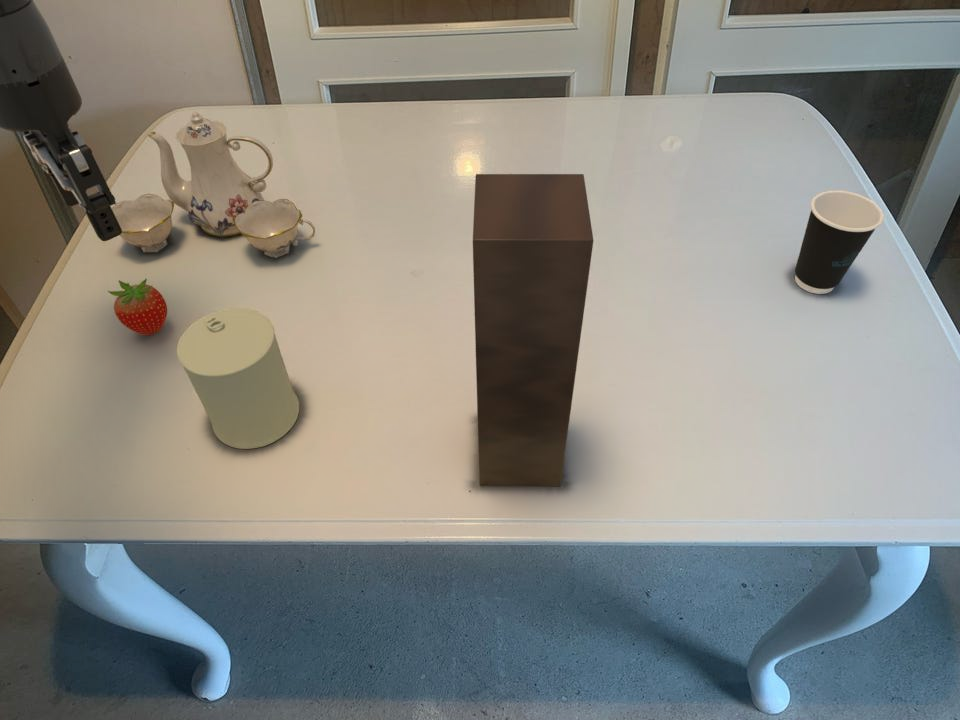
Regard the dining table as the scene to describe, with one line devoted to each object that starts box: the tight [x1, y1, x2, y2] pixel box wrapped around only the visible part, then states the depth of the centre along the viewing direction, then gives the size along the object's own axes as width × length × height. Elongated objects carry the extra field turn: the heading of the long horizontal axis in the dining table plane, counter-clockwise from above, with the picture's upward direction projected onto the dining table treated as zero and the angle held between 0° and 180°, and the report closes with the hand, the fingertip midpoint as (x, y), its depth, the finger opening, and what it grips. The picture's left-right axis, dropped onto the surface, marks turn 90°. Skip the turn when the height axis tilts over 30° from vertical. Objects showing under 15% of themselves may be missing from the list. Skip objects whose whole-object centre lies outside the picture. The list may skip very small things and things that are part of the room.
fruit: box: [107, 278, 168, 336], centre depth 79 cm, size 5×5×8 cm
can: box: [176, 307, 300, 450], centre depth 69 cm, size 9×9×12 cm
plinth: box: [472, 173, 594, 487], centre depth 59 cm, size 8×8×30 cm
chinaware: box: [111, 111, 316, 259], centre depth 90 cm, size 28×17×17 cm, turn 91°
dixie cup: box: [794, 189, 885, 295], centre depth 83 cm, size 8×8×11 cm
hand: (94, 219), depth 70 cm, fingers open, 8 cm apart
